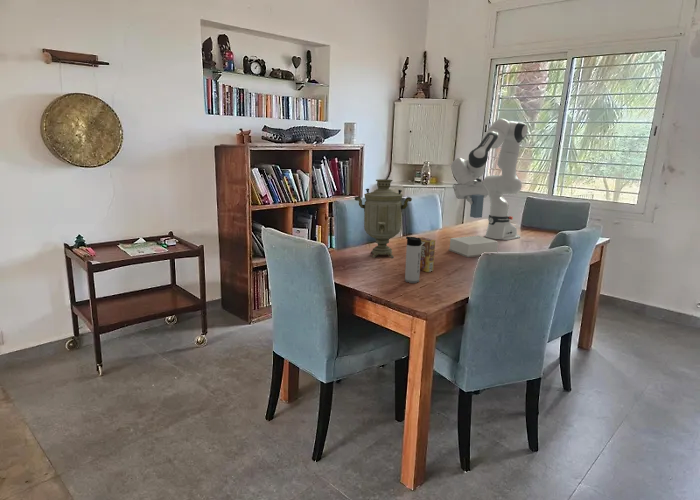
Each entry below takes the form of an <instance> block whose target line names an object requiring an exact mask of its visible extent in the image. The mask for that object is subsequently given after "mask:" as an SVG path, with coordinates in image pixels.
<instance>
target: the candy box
mask: <svg viewBox="0 0 700 500" xmlns="http://www.w3.org/2000/svg"><path fill="white" fill-rule="evenodd" d="M417 238H420V239H421V258H420V271H421V272H422V271H423V272H425V273H430V272H431V271H432V272H434V266H435V265H434V264H435V263H434V262H435V249H436V240H435V239H431V238H428V237H423V236H419V237H417Z"/></svg>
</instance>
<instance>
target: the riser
mask: <svg viewBox="0 0 700 500" xmlns="http://www.w3.org/2000/svg"><path fill="white" fill-rule="evenodd" d="M449 243H450V244H449V248H448V251H450V252H452V253H455V254H458V255H460V256H463V257H464V258H465V257H466V258H468V259H469V258H474V257H475V258H477V257H481V256H480V255H481V254H482V253H484V252H497V253H498V247H499V241H497V240H496V239H492V238H488V237H485V236H481V235H472V236H470V235H469V236H461V237H451V238H450V241H449Z"/></svg>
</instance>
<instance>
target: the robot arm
mask: <svg viewBox="0 0 700 500" xmlns="http://www.w3.org/2000/svg"><path fill="white" fill-rule="evenodd" d="M527 135H528V126H527V124H526V123H525V122H521V121H516V120H515V121H513V120H509V121H508V120H507V119H505V118H498V119H496V120H495V121H494V122H493V123H492V124H491V125H490V127H489V128H488V129H487V131H486V133H485V135H484V137H483V139H482V140H481V142H480V143H479V145H478V146H477V147H475V148H474V149H472V150H471V151H470V152H469V154H468V159H463V158H462V157H458V158H455V159H454V160H453V161H452V162H451V164H450V168H451V172H452V175H453V177H454V178H455V180H456V183H454V184H453V185H452V188H453V192H454V196H455V198H456V199H458V200H460V199H461V200H463V199H465V200H466V201H467V202H469V204H470V205H471V204H474V201H473V200H471V198H472V195H476V194H479V195H484V199H485V198H487V197H488V198H489V203H490V205H489V214H488V224H487V227H486V228H487V229H486V232H485V234H484V235H485V236H484V237H485V238H488V239H491V240H504V241H509V240H514V239H520V238H521V235H520V234H518V230H517V227H516V226H515V225H514V224H513V223H512V222H511V221H510V220H513V219H514V218H513V216H512V215H511V216H509V208H510V207H509V206H510V204H509V202H508V200H506V198H505V197H504V195H508V196H509V195H511V196H512V195H517V194H518V193H520V191H521V190H522V185H523V184H522V181H521V179H520V178H519V177H518V175H517V163H518V158H519V152H520V149H521V148H520V145H521V142H522V141H523V140H524V139H525V138H526V136H527ZM500 147H501V148H500ZM498 148H500V151H499V155H498V159H497V167H498V168H499V169H500V170H501V175H497V174H490V175H487V176H485V178H484V179H483V180H482V179H481V178H480V177H482V176H483V174H484V173H485V169H486V165H487V161H488V160H489V159H488V158H489V152H490V151H491V149H498Z"/></svg>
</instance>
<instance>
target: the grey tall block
mask: <svg viewBox="0 0 700 500" xmlns="http://www.w3.org/2000/svg"><path fill="white" fill-rule="evenodd" d="M470 199H471V200H473V201H474V204H470V211H469V212H470V213H469V217H470V218H475V219H477V218H478V219H479V218H480V219H481V218H483V209H484V208H483V207H484V199H485V198H484V195H479V194H476V195H472V198H470Z"/></svg>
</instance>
